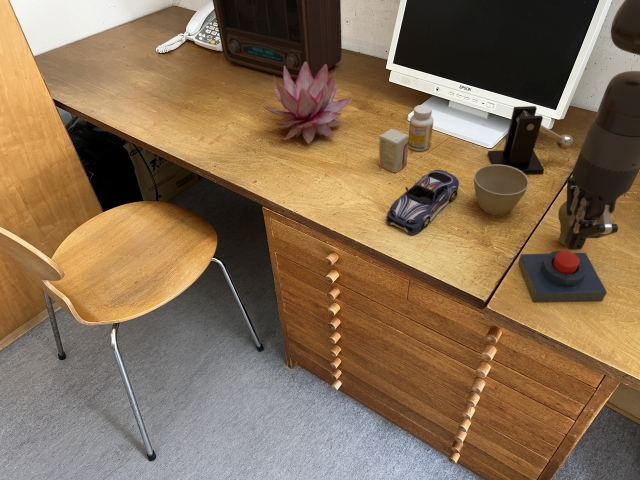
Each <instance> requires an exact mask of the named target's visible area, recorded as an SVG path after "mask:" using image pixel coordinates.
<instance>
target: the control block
mask: <svg viewBox="0 0 640 480" xmlns="http://www.w3.org/2000/svg"><path fill="white" fill-rule="evenodd" d="M561 251H562V250H553V251H551V252H549V253H520V256H519V258H518V262H517V264H518V266H519V269H520V271H521V274H522V276H523V279H524V281H525V284H526V287H527V291H528V292H529V295H530V297H531V300H532V302H533V303H553V302H554V303H555V302H556V303H557V302H560V303H561V302H562V303H563V302H603V300H604V299H605V297H606V295H607V292H608V291H607V290H606V288H605V286H604V284H603V283H602V281H601V278H600V277H599V274H597V271H596V269H595V268H594V266H593V264H592V262H591V260H590V259H589V256H588V255H587V253H586V252H572V253H573V254H575V255H576V256H577V257H578V258H579V260H580V263H579V265H578V267H577V270H576V271H575V272H574V273H572V274H564V273H561V272H559V271H557V270H556V269H555V268H554V266H553V261H554V259H555V256H556V254H557V253H559V252H561Z"/></svg>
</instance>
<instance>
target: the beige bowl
mask: <svg viewBox="0 0 640 480" xmlns="http://www.w3.org/2000/svg"><path fill="white" fill-rule="evenodd" d="M473 176H474V177H473V187H474V193H475V197H476V199H477V202H478V204H479V206H480V208H481V210H482V211H483V212H484V213H486V214H488V215H490V216H503V215H505V214H507V213H508V212H509V211H511V210H512V209H514V207H516V205H517V204H518V203H519V202H520V201H521V200H522V198H524V195H525V193H526V192H527V190H528V188H529V186H530V180H529V178H528V175H527V174H524V173H523V172H522V171H520V170H518V169H516V168H514V167H511V166H507V165H498V164H496V165H492V164H488V165H484V166H481V167H479V168H478V169H477V170H476V171H475V172H474V175H473Z"/></svg>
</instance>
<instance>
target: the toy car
mask: <svg viewBox="0 0 640 480" xmlns="http://www.w3.org/2000/svg"><path fill="white" fill-rule="evenodd" d="M459 185H460V180H459V179H458V178H457V177H456V176H455V175H454V174H452V173H450V172H449V171H445V170H442V169H434V170H432V171H430V172H428V173H427V174H425V175H423V176H421V178H419V180H418V181H416V182H415V183H414V184H413V185H412V186H411V187H410V188H408V187H407V186H405V192H404V193H403V194H402V195H400V196H399V197H398V198H397V199H396V200H394V201H393V202H392V203H391V206H390V208H389V209H388V211H387V214H386V219H385V220H386V221H385V222H386V224H387V225H393V226H395V227H397V228H398V229H399V228H400V229H401V230H403V231H405V232H406V233H407V234H408V235H415V234H418V233H420V232H421V231H422V229H426V227H428V226H429V223H431V221H432V220H434V218H435V217H436V216H437V214H438V213H439V212H440V211H441V210H443V208H445V207H446V206H447V205H448V204H449V203H451V202H453V201H454V200H455V198H456V196H457V195H458V191H459Z"/></svg>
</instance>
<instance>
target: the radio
mask: <svg viewBox="0 0 640 480" xmlns="http://www.w3.org/2000/svg"><path fill="white" fill-rule="evenodd" d="M341 3H342V1H341V0H212V5H213V9H214V15H215V20H216V24H217V30H218V34H219V35H218V36H219V40H220V45H221V50H222V53H223V56H224V58H225V59H226V61H227V62H231V63H233V64H237V65H241V66H244V67H248V68H251V69H253V70H254V69H255V70H259V71H262V72H265V73H270V74H273V75H278V76H282V77H283V72H284V66H285V67H286V69H287V71H288V73H289V75H290V77H291V79H292V80H297V78H298V75H299V72H300V70H301V68H302V66H303V64H304V62H307V64H308V66H309V69H310V71H311V74H312V78H313V79H314V78H315V76H316V75H317V74H318V72H319V71H320V70H321V68H322V67H323V66H324V65H325V64H327V68H328V70H330V69H331V68H333V67H334V66H335V65H337V64H338V63H340V62H341V60H342V54H343V53H342V52H343V51H342V6H341V5H342V4H341Z"/></svg>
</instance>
